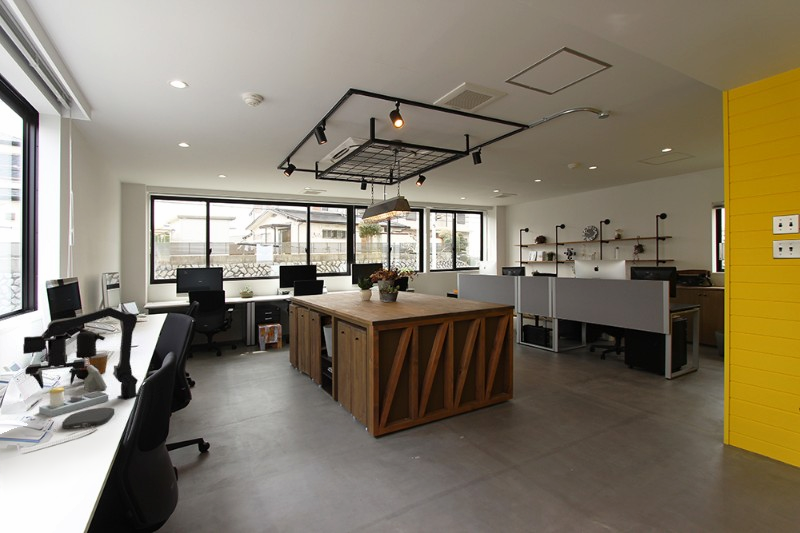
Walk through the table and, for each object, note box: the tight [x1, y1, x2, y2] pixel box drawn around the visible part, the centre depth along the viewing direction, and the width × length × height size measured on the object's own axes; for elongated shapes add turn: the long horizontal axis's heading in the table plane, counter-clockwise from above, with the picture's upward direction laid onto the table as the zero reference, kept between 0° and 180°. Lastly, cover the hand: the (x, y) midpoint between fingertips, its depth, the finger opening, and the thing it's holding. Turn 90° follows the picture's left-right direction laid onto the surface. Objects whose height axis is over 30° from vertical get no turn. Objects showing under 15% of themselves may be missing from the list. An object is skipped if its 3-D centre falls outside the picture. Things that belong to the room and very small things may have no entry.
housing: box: [38, 391, 109, 418], centre depth 169 cm, size 10×21×2 cm, turn 154°
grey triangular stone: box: [83, 365, 107, 392], centre depth 193 cm, size 16×9×11 cm, turn 38°
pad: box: [82, 390, 107, 399], centre depth 175 cm, size 7×6×1 cm
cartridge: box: [49, 387, 65, 409], centre depth 163 cm, size 5×5×10 cm
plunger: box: [70, 394, 83, 403], centre depth 169 cm, size 4×4×3 cm
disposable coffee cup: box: [88, 350, 110, 375], centre depth 217 cm, size 10×10×12 cm
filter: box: [72, 326, 106, 381], centre depth 203 cm, size 14×9×30 cm
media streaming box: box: [61, 407, 115, 431], centre depth 154 cm, size 15×15×3 cm
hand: (57, 386), depth 163 cm, fingers open, 9 cm apart
